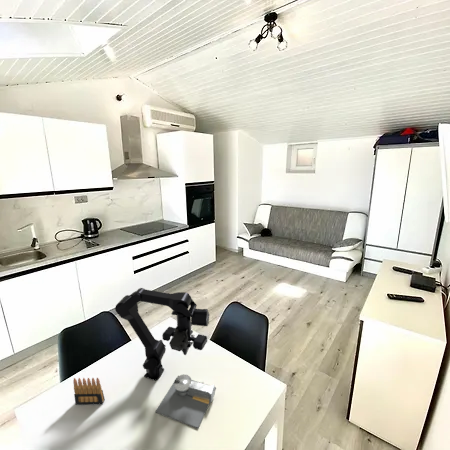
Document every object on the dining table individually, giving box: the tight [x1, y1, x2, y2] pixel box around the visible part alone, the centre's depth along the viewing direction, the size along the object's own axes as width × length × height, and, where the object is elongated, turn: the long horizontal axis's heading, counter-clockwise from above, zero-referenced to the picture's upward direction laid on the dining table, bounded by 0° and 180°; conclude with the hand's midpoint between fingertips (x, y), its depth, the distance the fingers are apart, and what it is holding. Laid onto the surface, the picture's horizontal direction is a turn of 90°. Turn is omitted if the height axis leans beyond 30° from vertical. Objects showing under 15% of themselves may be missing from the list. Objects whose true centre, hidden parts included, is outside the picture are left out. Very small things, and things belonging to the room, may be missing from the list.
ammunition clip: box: [73, 377, 105, 406], centre depth 96 cm, size 11×2×12 cm, turn 90°
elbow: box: [173, 374, 216, 404], centre depth 99 cm, size 16×7×4 cm, turn 73°
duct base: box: [155, 379, 217, 430], centre depth 97 cm, size 18×17×3 cm
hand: (185, 354), depth 106 cm, fingers closed
